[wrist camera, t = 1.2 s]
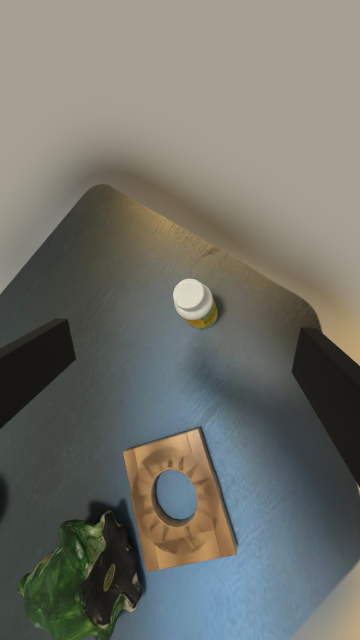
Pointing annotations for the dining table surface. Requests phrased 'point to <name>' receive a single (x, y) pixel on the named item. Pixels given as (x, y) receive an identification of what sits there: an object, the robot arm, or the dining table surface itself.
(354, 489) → the dining table surface
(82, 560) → the figurine
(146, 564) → the socket pad
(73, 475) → the dining table surface
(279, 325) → the dining table surface
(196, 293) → the supplement bottle
